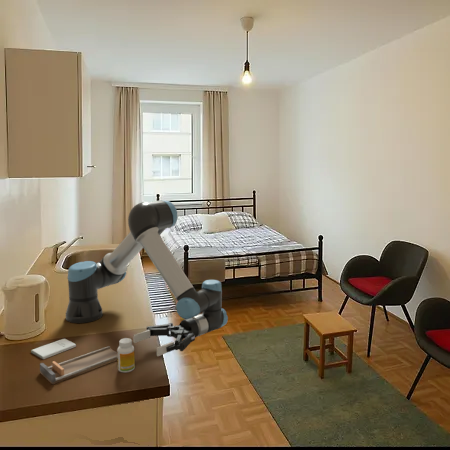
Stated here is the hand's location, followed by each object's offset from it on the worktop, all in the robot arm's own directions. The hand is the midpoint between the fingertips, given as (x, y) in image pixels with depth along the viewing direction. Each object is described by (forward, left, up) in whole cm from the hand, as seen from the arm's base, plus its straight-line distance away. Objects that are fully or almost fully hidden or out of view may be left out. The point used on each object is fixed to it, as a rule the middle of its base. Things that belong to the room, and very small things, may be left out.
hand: (145, 345), depth 135 cm
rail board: (-12, -16, -6) cm, 21 cm away
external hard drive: (-31, -18, -7) cm, 36 cm away
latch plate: (-12, -24, -5) cm, 28 cm away
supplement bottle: (0, -7, -6) cm, 9 cm away
